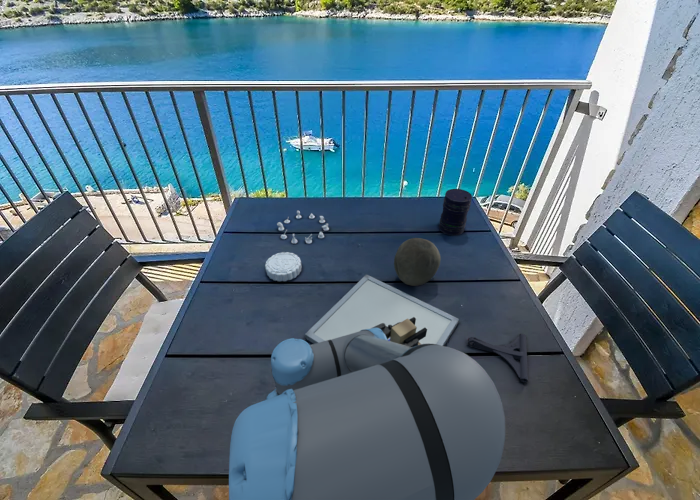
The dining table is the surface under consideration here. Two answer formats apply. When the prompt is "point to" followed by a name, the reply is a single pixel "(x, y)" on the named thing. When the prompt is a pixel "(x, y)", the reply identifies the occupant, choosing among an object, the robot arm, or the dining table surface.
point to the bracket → (508, 353)
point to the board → (381, 314)
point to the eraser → (402, 331)
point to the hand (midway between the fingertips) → (419, 326)
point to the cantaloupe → (416, 261)
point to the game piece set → (308, 240)
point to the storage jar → (455, 211)
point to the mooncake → (283, 266)
